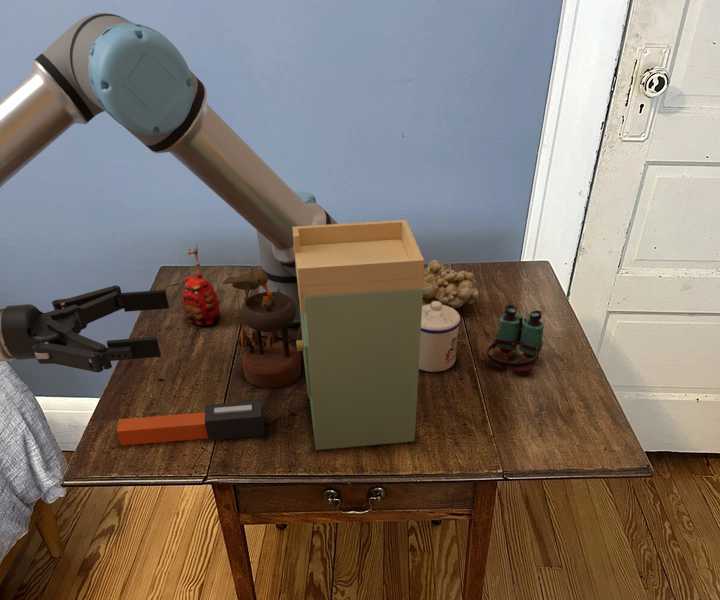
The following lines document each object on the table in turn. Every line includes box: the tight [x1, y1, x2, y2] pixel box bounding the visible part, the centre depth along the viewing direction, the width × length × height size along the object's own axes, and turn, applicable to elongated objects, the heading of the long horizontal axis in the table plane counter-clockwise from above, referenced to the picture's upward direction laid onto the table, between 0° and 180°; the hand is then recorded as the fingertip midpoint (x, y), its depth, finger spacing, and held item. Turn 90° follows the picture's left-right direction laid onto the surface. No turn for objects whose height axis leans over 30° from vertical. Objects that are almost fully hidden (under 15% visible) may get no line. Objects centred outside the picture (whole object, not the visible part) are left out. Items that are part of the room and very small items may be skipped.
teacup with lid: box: [419, 301, 462, 373], centre depth 124 cm, size 12×9×12 cm
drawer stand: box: [292, 219, 425, 451], centre depth 103 cm, size 14×18×30 cm
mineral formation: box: [422, 259, 480, 310], centre depth 139 cm, size 8×13×15 cm
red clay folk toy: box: [180, 242, 221, 327], centre depth 134 cm, size 8×7×15 cm
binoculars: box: [486, 304, 544, 377], centre depth 122 cm, size 9×11×10 cm
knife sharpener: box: [116, 400, 265, 447], centre depth 110 cm, size 4×23×4 cm, turn 97°
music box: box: [222, 270, 302, 389], centre depth 119 cm, size 15×11×20 cm
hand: (163, 321), depth 98 cm, fingers open, 13 cm apart
